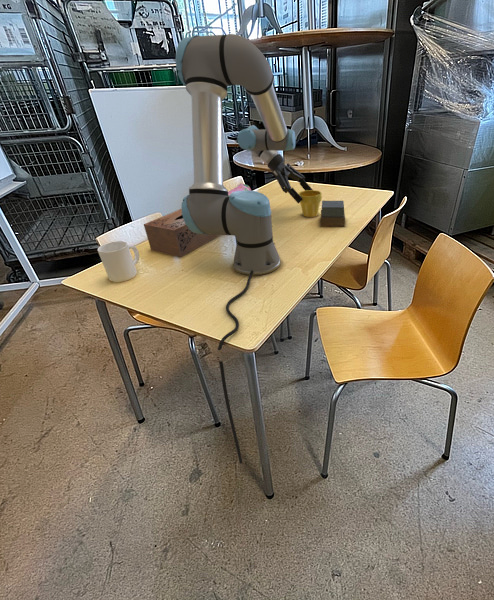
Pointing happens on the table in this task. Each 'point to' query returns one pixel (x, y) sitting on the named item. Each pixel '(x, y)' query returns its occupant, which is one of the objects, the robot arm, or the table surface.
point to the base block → (332, 221)
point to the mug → (119, 260)
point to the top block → (332, 208)
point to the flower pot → (310, 202)
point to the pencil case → (239, 188)
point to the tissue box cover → (174, 235)
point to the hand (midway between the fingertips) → (306, 197)
